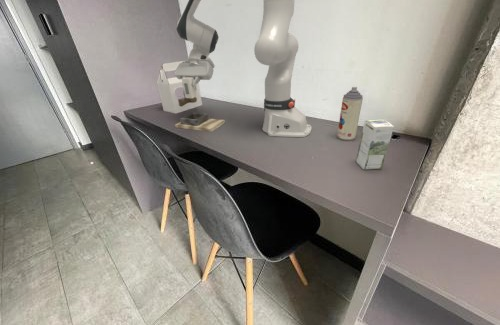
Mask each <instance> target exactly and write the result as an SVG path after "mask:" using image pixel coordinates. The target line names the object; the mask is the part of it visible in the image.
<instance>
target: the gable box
mask: <svg viewBox="0 0 500 325" xmlns="http://www.w3.org/2000/svg"><path fill="white" fill-rule="evenodd" d="M182 62H186V61H185V60H180V61H172V62H165V63H162V65H160V67H161V69H160V70H159V74H158V78H157V81H156V87H157V90H158V93H159V97H160V102H161V104H162V110H163V111H164V112H167V113H172V114H175V115H176V114H178V113H182V112H184V111H189V110H191V109H194V108H197V107H200V106H203V102H202V101H203V100H202V96H201V95H202V94H201V91H200V90H201V89H200V84H199V82H198V83H197V84H196V87H195V88H196V93H197V97H194V98H185V93H184V92H183V96H184V99H183V100H179V99H178V96H177V95H176V90H177V89H180V88H181V89H182V88H183V85H182V79H178V78H177V77H176V76H175V77H169V78H168V77H167V75H166V73H168V72H172V71H174V72H175V71H176V69H177V67H178V65H179V64H180V63H182Z"/></svg>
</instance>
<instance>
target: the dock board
mask: <svg viewBox="0 0 500 325" xmlns="http://www.w3.org/2000/svg"><path fill="white" fill-rule="evenodd" d="M209 115H210V114H209V113H199V112H191V113H188V114H187V115H185V116H182V117H180V118H179V122H177V123H176V124H174V127H175V128H178V129H185V130H193V131H194V130H195V131H203V132H210V133H211V132H213V131H215V130H217V129H218V128H219V127H221V126H223V125H224V124H225V123H226V120H225V119H218V118H217V119H215V118H210V116H209Z"/></svg>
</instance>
